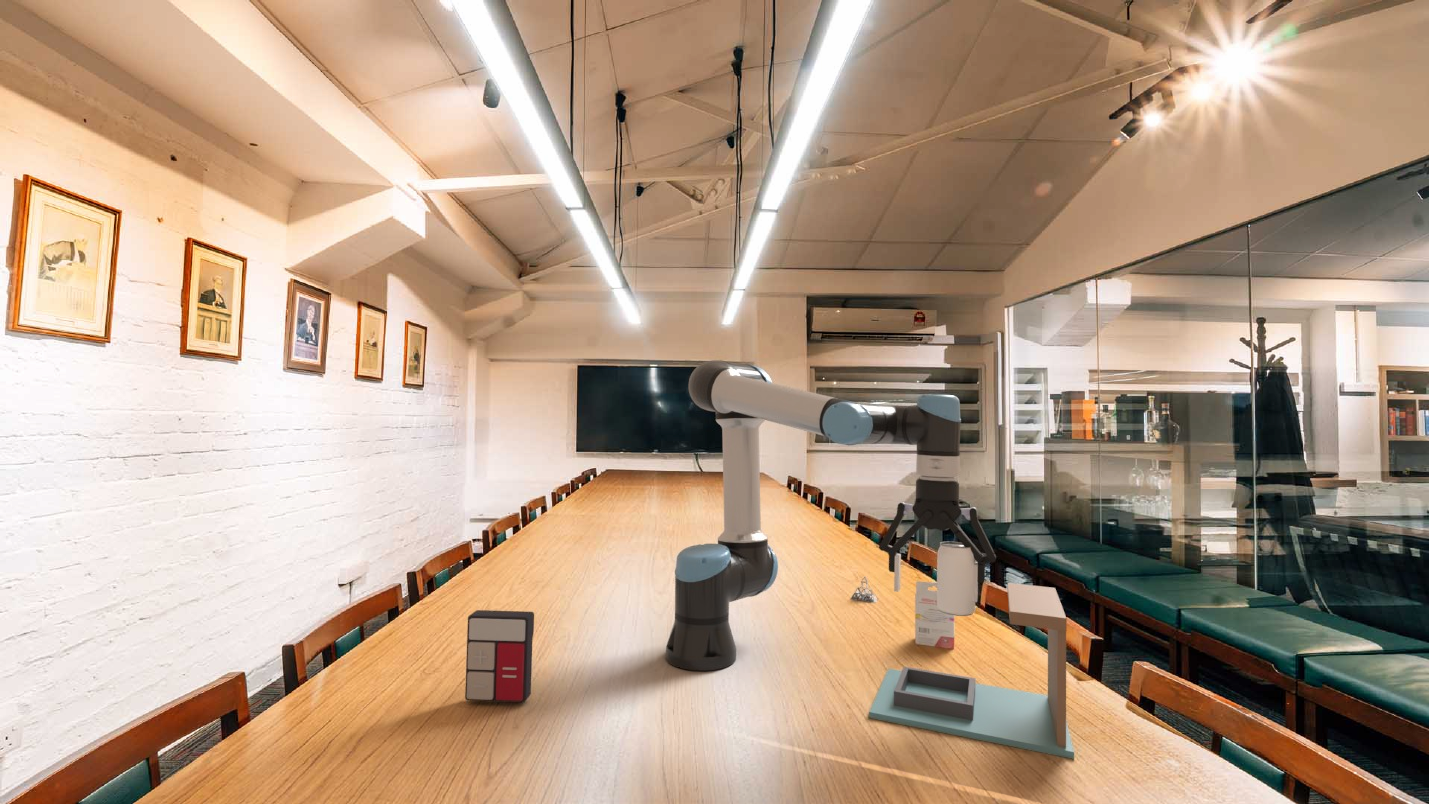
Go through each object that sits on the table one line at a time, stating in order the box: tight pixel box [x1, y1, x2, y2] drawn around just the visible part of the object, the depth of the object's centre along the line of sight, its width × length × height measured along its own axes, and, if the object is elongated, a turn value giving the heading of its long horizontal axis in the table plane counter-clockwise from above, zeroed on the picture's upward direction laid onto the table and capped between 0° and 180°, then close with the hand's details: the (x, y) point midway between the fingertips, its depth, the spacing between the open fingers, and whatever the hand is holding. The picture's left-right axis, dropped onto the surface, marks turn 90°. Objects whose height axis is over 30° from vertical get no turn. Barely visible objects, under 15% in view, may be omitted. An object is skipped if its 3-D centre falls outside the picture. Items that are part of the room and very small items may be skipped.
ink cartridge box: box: [914, 580, 955, 650], centre depth 149 cm, size 9×5×15 cm, turn 68°
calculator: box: [464, 609, 535, 703], centre depth 116 cm, size 11×4×15 cm, turn 88°
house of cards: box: [850, 576, 878, 604], centre depth 185 cm, size 9×9×8 cm
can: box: [936, 541, 976, 617], centre depth 116 cm, size 6×6×12 cm
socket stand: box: [868, 582, 1075, 760], centre depth 115 cm, size 31×22×21 cm
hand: (935, 595), depth 117 cm, fingers open, 13 cm apart
